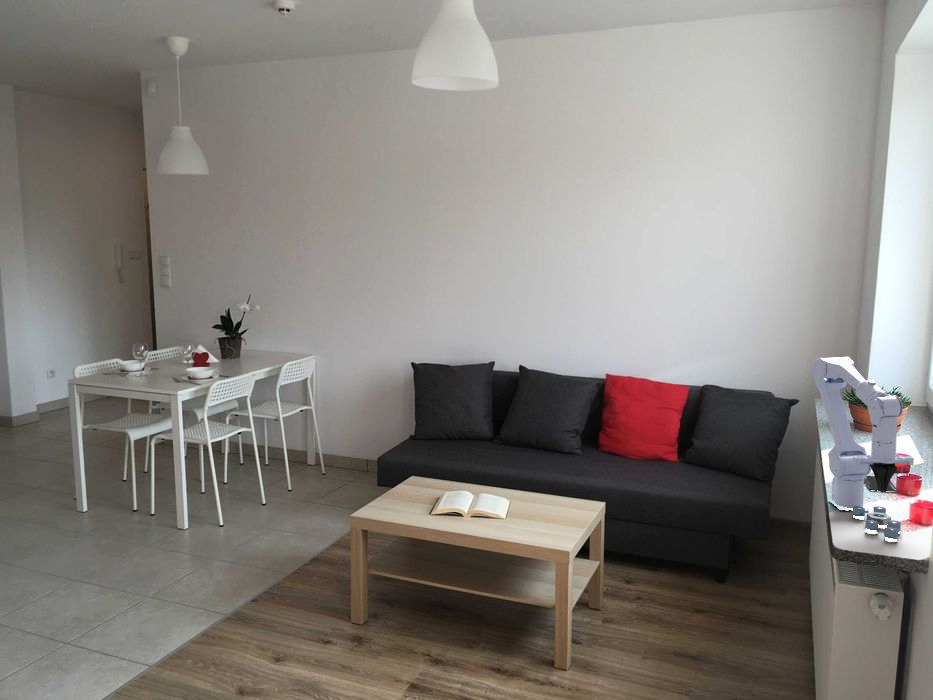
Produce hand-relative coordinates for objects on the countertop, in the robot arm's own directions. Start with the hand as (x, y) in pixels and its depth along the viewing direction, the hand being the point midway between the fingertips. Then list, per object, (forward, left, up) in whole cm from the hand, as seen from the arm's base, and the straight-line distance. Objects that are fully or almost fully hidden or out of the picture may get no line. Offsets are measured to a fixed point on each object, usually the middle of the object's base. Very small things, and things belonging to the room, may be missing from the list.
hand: (882, 490), depth 204 cm
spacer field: (+4, -2, -9) cm, 10 cm away
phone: (-36, +14, -10) cm, 40 cm away
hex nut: (+1, -1, -10) cm, 10 cm away
